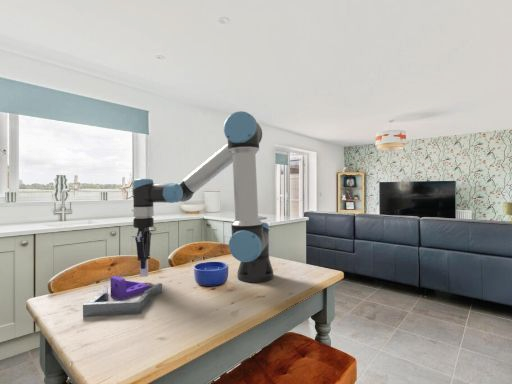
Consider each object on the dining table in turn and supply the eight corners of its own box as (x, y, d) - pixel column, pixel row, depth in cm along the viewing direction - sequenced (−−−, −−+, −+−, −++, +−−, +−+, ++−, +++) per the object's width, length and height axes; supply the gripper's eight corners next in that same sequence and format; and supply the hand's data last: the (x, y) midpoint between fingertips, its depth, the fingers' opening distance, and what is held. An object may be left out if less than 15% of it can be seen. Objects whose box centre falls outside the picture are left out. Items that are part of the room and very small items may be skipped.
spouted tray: (162, 291, 101) (162, 281, 101) (147, 313, 82) (147, 301, 82) (104, 293, 99) (104, 284, 99) (75, 317, 80) (75, 305, 80)
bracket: (120, 301, 93) (120, 280, 93) (110, 296, 97) (110, 277, 97) (152, 290, 103) (152, 272, 103) (142, 287, 107) (142, 269, 107)
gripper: (139, 216, 118) (139, 271, 118) (127, 219, 105) (128, 281, 105) (157, 215, 119) (158, 271, 119) (148, 218, 106) (148, 280, 106)
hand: (144, 275), depth 112 cm, fingers closed
